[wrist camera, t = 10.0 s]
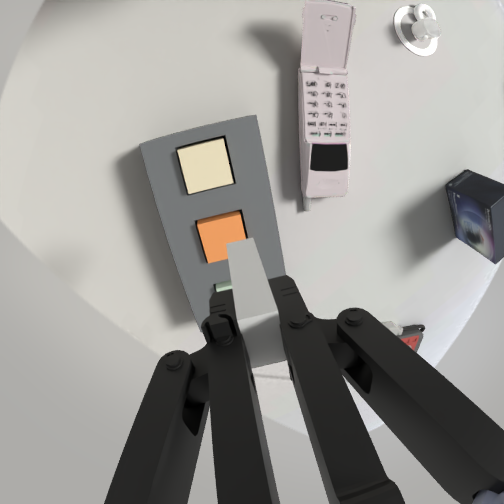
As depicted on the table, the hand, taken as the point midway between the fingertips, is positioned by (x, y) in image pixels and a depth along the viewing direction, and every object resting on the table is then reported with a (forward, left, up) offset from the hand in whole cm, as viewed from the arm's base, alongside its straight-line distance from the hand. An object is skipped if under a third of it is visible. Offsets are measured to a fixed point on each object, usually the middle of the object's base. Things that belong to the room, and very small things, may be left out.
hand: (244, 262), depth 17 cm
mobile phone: (-7, +13, -20) cm, 25 cm away
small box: (+9, +37, -20) cm, 43 cm away
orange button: (+4, -1, -19) cm, 20 cm away
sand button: (-4, -2, -19) cm, 20 cm away
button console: (+4, -1, -20) cm, 20 cm away
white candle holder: (-18, +33, -20) cm, 43 cm away
